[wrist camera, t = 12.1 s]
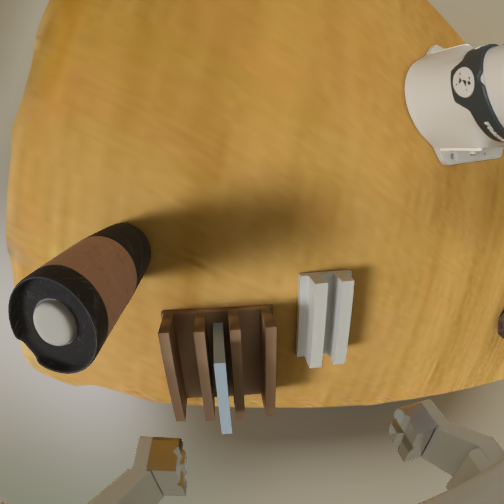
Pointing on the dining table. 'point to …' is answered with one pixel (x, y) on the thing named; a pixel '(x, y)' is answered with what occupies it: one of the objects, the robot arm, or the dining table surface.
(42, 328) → the travel mug
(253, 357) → the dish rack
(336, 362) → the plate stand
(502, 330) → the dark brown tall block
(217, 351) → the side plate
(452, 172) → the dining table surface
